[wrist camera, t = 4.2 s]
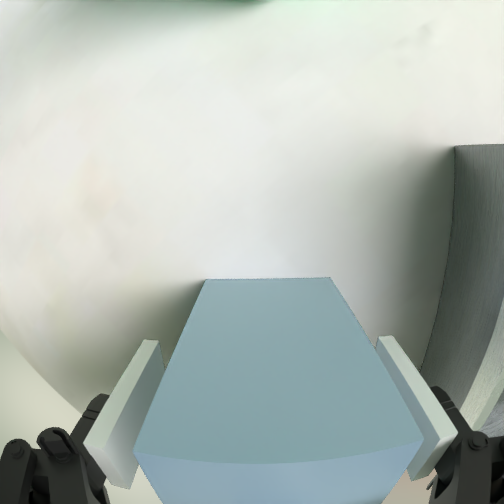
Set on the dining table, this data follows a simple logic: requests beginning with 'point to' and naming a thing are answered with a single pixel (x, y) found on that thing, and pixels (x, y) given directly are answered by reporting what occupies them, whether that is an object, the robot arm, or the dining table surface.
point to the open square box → (473, 294)
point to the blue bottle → (275, 402)
